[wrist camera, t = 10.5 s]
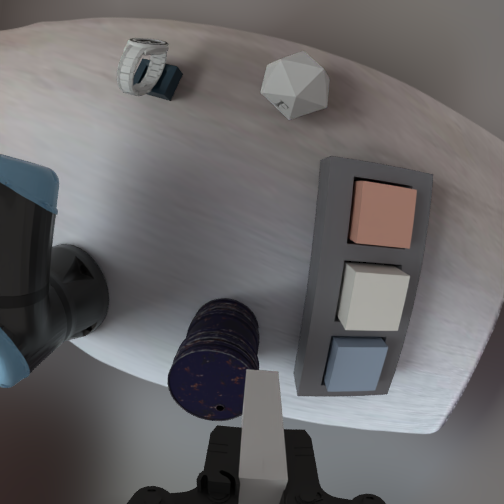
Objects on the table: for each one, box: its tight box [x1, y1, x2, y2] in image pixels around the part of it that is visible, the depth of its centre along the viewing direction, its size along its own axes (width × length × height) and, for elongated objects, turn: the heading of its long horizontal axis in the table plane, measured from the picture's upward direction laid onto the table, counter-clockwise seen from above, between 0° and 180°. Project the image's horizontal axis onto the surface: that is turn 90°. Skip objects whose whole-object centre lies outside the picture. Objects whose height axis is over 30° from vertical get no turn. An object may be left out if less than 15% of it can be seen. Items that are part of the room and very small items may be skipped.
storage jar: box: [168, 299, 259, 421], centre depth 38 cm, size 10×10×15 cm
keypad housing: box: [294, 156, 433, 396], centre depth 40 cm, size 14×32×6 cm, turn 175°
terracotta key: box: [347, 181, 417, 249], centre depth 36 cm, size 7×7×5 cm
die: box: [260, 51, 330, 120], centre depth 35 cm, size 8×9×10 cm
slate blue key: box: [323, 336, 388, 392], centre depth 40 cm, size 7×7×5 cm
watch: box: [117, 38, 183, 101], centre depth 33 cm, size 6×8×11 cm
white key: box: [336, 262, 410, 331], centre depth 36 cm, size 7×7×5 cm
